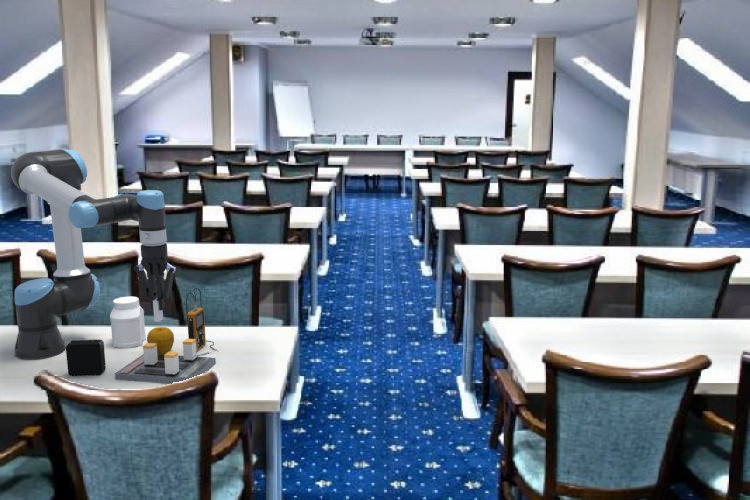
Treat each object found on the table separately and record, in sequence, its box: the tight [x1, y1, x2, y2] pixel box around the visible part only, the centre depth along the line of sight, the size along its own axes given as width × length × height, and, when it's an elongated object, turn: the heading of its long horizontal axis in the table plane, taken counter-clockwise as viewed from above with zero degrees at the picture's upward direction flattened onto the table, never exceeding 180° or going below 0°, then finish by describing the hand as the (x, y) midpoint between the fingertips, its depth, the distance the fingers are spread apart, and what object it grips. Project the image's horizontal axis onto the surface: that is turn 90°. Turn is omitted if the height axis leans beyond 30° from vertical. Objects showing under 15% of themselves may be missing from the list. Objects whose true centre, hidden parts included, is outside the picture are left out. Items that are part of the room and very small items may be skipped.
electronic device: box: [65, 339, 107, 377], centre depth 229 cm, size 4×10×10 cm, turn 95°
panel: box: [114, 353, 217, 384], centre depth 232 cm, size 24×18×2 cm
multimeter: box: [185, 287, 219, 357], centre depth 249 cm, size 15×10×20 cm
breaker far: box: [182, 338, 198, 360], centre depth 235 cm, size 3×3×6 cm
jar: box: [109, 296, 147, 349], centre depth 256 cm, size 12×10×15 cm
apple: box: [146, 326, 175, 354], centre depth 246 cm, size 8×8×9 cm
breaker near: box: [164, 351, 179, 374], centre depth 224 cm, size 3×3×6 cm
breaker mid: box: [142, 343, 158, 365], centre depth 232 cm, size 3×3×6 cm
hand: (158, 320), depth 229 cm, fingers closed
